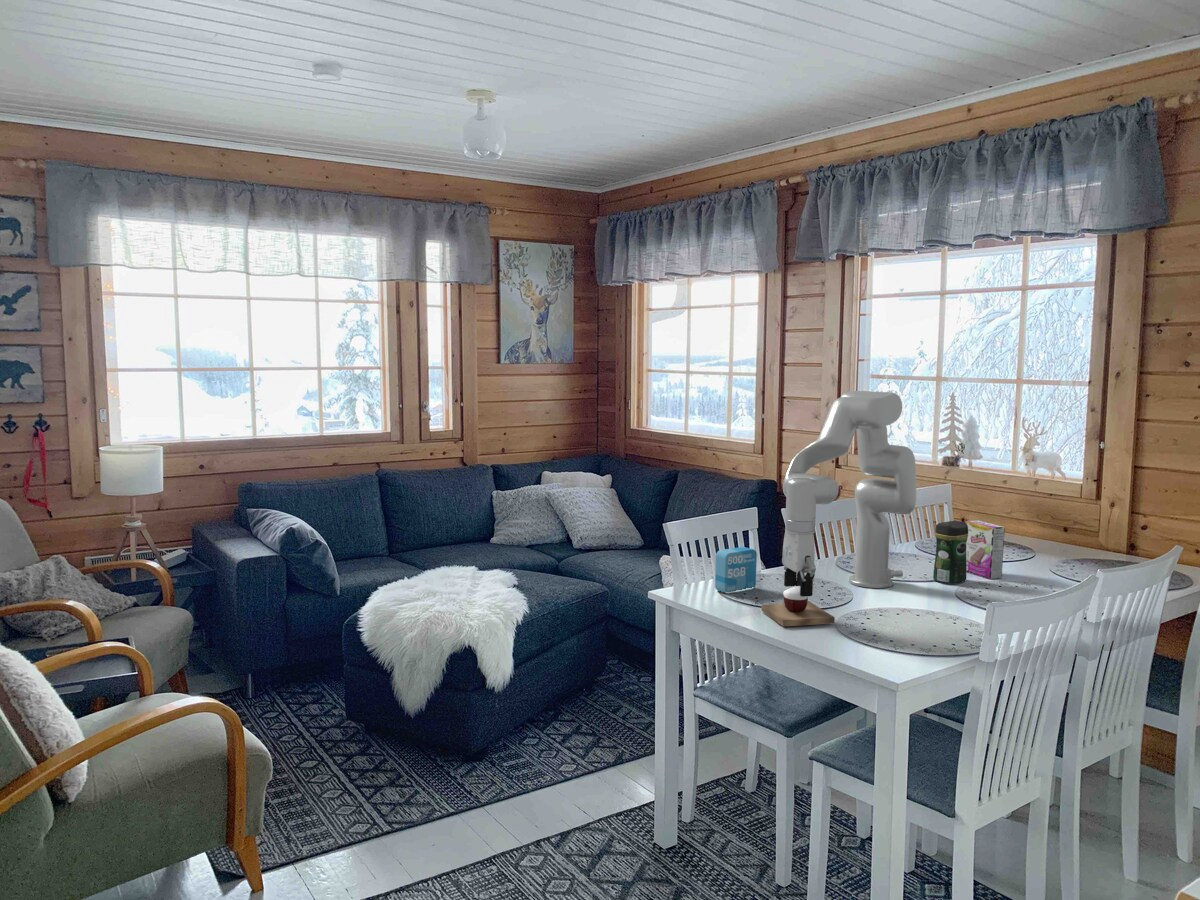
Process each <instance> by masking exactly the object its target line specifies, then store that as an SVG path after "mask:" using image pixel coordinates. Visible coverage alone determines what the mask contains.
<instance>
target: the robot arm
mask: <svg viewBox="0 0 1200 900" xmlns="http://www.w3.org/2000/svg"><path fill="white" fill-rule="evenodd" d="M902 412H903V402H902V399H901V397H900V396H899V395H898V394H897V393H895V392H888V391H871V390H870V391H869V390H850V391H845V392H844V393H842V395H841V396H840V397H838V398H837V399H835V400H834V401H833V403H832V404H831V406H830V409H829V410H828V413H827V415H826V418H825V421H824V423H823V426H822V429H821V431H820V433H819V435H818V438H817V439H816V440H815V441H813V442H811V443H809V444H808V445H807V446H805V447H804V448H803V449H802V450H800V451H799V452H798V453H797V454H796V455H795V456H794V457H793V458H792V460H791V462H790V463H789V466H788V469H787V471H786V473H785V476H784V479H783V483H782V491H783V494H784V496H785V497H786V499H785V524H784V525H785V527H784V531H785V532H784V537H783V543H782V544H783V545H782V558H781V564H782V565H783V571H784V573H783V574H784V577H783V581H784V582H783V584H784V585H783V586H784V587H796V580H797V572H799V571H800V574H801V578H802V581H800V596H802V597H804V596H808V597H812V596H813V595H814V594H813V590H814V589H813V588H814V580H815V576H816V572H817V571H816V570H817V567H816V565H815V537H814V535H815V533H816V517H817V505H829V504H831V503H833V502H834V501H835V500H836V499H837V497H838V495H839V491H840V490H839V484H838V482H837V480H836V479H834V478H833V477H831V476H829V475H820V474H815V473H807V472H808V471H809V470H810V469H812V468H813V467H815V466H816V465H818V464H821V463H824V462H828V461H832V460H835V459H837V458H840V457H842V456H844V455H846V453H848V451H849V450H850V449H849V448H850V446H851V445H852V441H853V439H854V436H855V433H856V437H857V459H858V468H859V471H860V472H861V473H862V474H864V475H867V476H872V477H880V478H872V477H871V478H870V477H869V478H864V479H861V480H860V481H858V482H857V483H856V485H855V488H854V501H855V508H856V509H855V510H856V532H855V533H856V535H855V555H854V556H855V558H854V574H853V575H851V576H849V577H848V582H849V583H850V584H852V585H854V586H858V587H862V588H869V589H887V588H890V587H892V586H893V585H894V584H893V583H894V581H893V580H892V579H893V578H894V577H896V578H901V577H903V575H904V572H903V571H902V570H901V569H900V570H895V569H891V568H889V557H890V556H889V554H890V533H891V530H890V529H891V526H890V523H889V520H888V519H887V518H888V517H887V516H886V515H885V513H889V514H897V515H909V514H911V513H913V511H914V510H915V508H916V505H917V472H916V471H917V470H916V466H917V465H916V457H915V454H914V452H913V451H912V449H910V448H909V447H907V446H904V445H897V444H896V445H895V444H894V445H893V444H890V443H889V440H888V437H889V436H888V427H887V426H889V425H891V424H894V423H895V422H897V421H898V420H899V419H900V417H901V415H902ZM881 477H882V478H881ZM884 478H890V480H889V479H884ZM891 479H894V480H891Z"/></svg>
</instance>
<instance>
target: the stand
mask: <svg viewBox="0 0 1200 900" xmlns="http://www.w3.org/2000/svg"><path fill="white" fill-rule="evenodd" d="M761 611H762V612H763V613H764V614H765V615H767V616H768V617H770V618H771V619H772V620H773V621H775V622H776V623H778V624H779V625H780V626H781V627H785V628H787V627H795V626H798V627H799V626H811V625H812V626H814V625H831V624H835V616H833V615H832V614H830V613H829V612H827V611H825V610H823V609H822V608H821V607H819V606H818V605H816V604H814V603H813V602H811V601H808V603H807V607H806V609H805V610H803V611H802V612H791V611H789V610H788V609H786V607H785V604H784V603H771V604H770V603H769V604H768V603H767V604H766V603H765V604H761Z"/></svg>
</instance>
